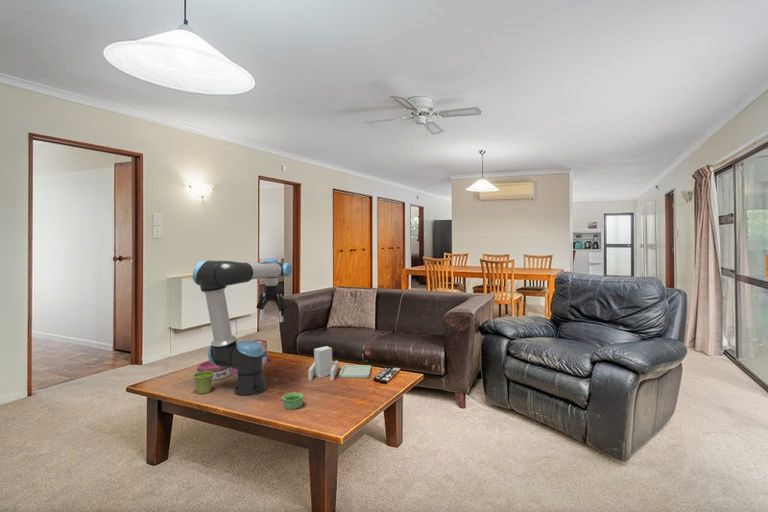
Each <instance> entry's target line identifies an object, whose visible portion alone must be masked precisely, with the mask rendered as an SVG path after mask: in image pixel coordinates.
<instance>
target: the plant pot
mask: <svg viewBox="0 0 768 512" xmlns="http://www.w3.org/2000/svg"><path fill="white" fill-rule="evenodd" d="M213 375H214V372H212V371H203V372H198V373H197V372H195V373H194V374H192V377H193V378H194V382H195V388H196V393H197V394H199V395H201V394H207V393H210V392H211V391H212V382H213V381H212V377H213Z"/></svg>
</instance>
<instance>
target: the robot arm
mask: <svg viewBox="0 0 768 512" xmlns="http://www.w3.org/2000/svg"><path fill="white" fill-rule="evenodd" d="M278 261H279V260H278V259H277V258H265V259H264V262H256V263H252V264H251V263H248V262H238V261H233V260H232V261H231V260H210V259H209V260H201V261H199V262H198V263H197V264H196V265H195V267H194V268H193V271H192V280H193V283H194V284H196V285H197V286H199V288H200V291H201V292H202V293H203V294H204V295H205V300H206V305H207V309H208V310H207V312H208V315H209V317H208V318H209V321H210V325H211V331H212V332H211V333H212V337H213V340H212V341H211V342H210V346H209V347H208V351H207V358H208V361H210V362H211V363H212V364H213V365H215V366H219V367H230V369H232V368H237V373H236V374H237V375H236V376H237V377H236V379H235V383H234V386H233V393H234V394H236V395H238V396H254V395H258V394H261V393H264V392H265V391H266V390H267V382H266V380H265V379H266V378H265V377H264V374H263V365H262V346H261V344H260V343H258V342H255V341H254V340H241V341H238V342H237V337H236V336H235V335H233V333H232V327H231V322H230V321H231V320H230V316H229V311H228V305H227V300H226V294H225V291H226V288H227V286H232V285H233V286H234V285H238V284H245V283H248V282H250V281H251V280H260V279H264V292H260V297H259V300H258V303H257V304H256V309H258V310H259V317H260V322H263V321H265V309H264V308H265V307H266V305H267V304H268V303H269V302H274V303H275V305H276V306H277V307H278V309H279V314H278V315H279V317H278V318H279V323H283V322H284V317H285V311H286V310H288V307H287V304H286V301H285V299H284V296H283V293H278V292H279V277H284V278H285V277H290V276H292V273H293V267H292V266H293V265H292V264H291V263H289V262H278Z"/></svg>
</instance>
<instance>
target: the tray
mask: <svg viewBox="0 0 768 512" xmlns="http://www.w3.org/2000/svg"><path fill="white" fill-rule="evenodd" d="M371 369H372V365H371V364H368V365H367V364H365V365H364V364H357V365H356V364H344V365H342V366H341V369H340V372H339V374H338V379H370V374H371Z"/></svg>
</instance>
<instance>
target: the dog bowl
mask: <svg viewBox="0 0 768 512" xmlns="http://www.w3.org/2000/svg"><path fill="white" fill-rule="evenodd" d="M203 371H212V372H214V375H213V377H212V382H213V381H218V380H219V381H220V380H222V379H223V380H224V379H227V378H228V377H230V376H232V375H233V373H232V368H231V367H219V366H215V365H213V364H212V363H211V362H210V361H209V360H205V361H203V362H200V363H198V366H197V369H196V373H198V372H203Z"/></svg>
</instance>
